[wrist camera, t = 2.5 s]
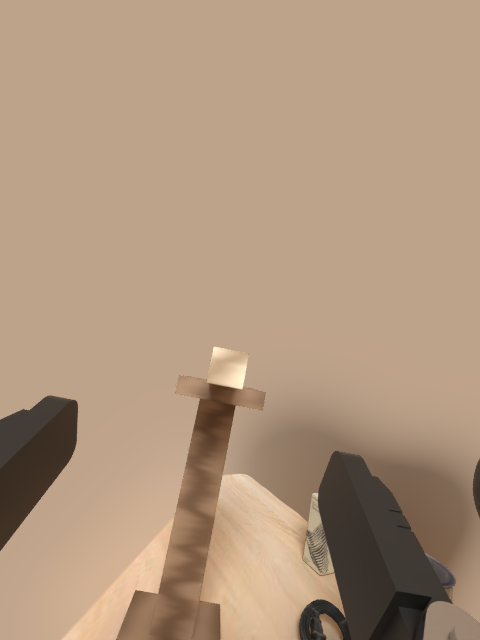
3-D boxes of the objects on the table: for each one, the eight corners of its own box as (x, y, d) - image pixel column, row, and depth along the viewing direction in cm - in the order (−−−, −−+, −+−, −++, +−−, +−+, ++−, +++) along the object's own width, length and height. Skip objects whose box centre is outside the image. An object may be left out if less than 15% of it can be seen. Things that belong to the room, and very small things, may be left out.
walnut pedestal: (216, 618, 40) (256, 389, 47) (216, 754, 26) (274, 394, 32) (132, 604, 40) (185, 375, 47) (83, 735, 25) (170, 373, 32)
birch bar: (229, 384, 47) (233, 366, 48) (242, 389, 24) (248, 353, 24) (212, 380, 47) (215, 362, 47) (206, 382, 23) (214, 346, 24)
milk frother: (475, 753, 30) (476, 589, 33) (333, 742, 28) (349, 571, 32) (388, 633, 44) (395, 526, 47) (289, 622, 42) (303, 511, 45)
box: (301, 560, 59) (310, 492, 61) (316, 557, 61) (324, 491, 63) (321, 577, 54) (329, 503, 57) (336, 574, 56) (344, 502, 59)
